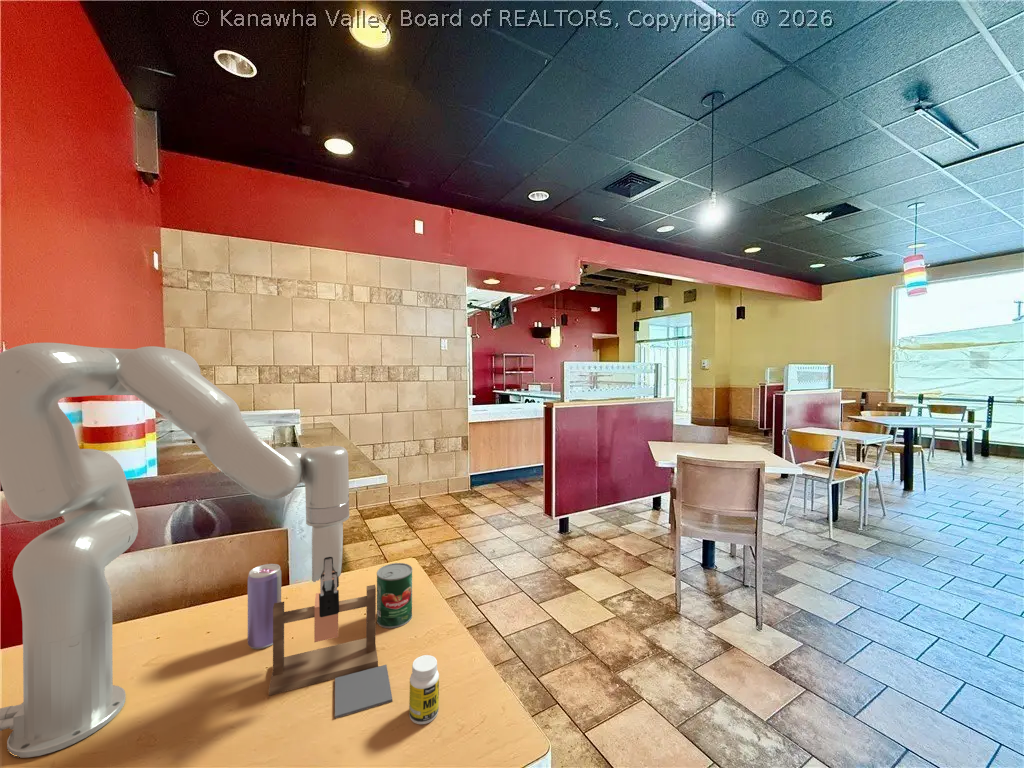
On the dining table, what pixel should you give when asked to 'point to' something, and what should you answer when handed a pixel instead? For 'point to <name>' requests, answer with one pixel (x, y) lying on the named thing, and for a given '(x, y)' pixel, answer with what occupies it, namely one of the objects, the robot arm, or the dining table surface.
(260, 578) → the beverage can
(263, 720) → the dining table surface
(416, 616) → the dining table surface
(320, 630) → the c link
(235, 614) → the dining table surface
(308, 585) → the dining table surface
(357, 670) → the stand
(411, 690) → the supplement bottle
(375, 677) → the mat
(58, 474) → the robot arm
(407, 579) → the canned tomato
